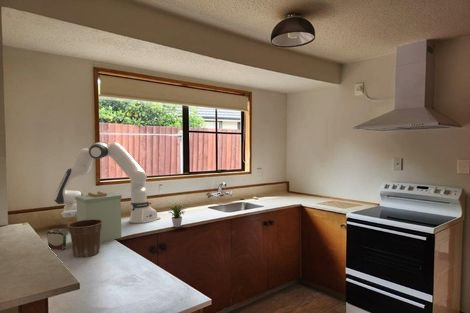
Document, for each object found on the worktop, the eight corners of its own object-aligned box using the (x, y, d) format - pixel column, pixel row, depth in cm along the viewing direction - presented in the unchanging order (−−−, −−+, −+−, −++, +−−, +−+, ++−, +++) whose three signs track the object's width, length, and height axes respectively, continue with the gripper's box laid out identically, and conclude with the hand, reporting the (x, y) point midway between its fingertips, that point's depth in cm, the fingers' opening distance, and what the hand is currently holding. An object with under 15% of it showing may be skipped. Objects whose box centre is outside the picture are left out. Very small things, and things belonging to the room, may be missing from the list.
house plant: (182, 229, 203) (182, 205, 203) (163, 229, 206) (162, 204, 205) (190, 224, 217) (189, 201, 217) (171, 223, 220) (171, 201, 219)
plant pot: (61, 258, 153) (60, 226, 152) (81, 248, 169) (80, 218, 168) (91, 260, 151) (90, 227, 150) (109, 249, 167) (108, 219, 166)
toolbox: (111, 232, 199) (110, 190, 198) (122, 237, 187) (121, 192, 186) (76, 239, 185) (75, 193, 184) (86, 245, 173) (84, 197, 172)
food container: (73, 247, 171) (73, 229, 170) (64, 250, 165) (64, 232, 164) (55, 245, 174) (55, 227, 174) (46, 249, 168) (45, 230, 168)
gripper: (59, 208, 209) (65, 211, 199) (90, 204, 223) (97, 207, 213) (59, 218, 209) (65, 221, 199) (91, 213, 224) (98, 216, 214)
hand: (82, 214), depth 207 cm, fingers open, 8 cm apart
